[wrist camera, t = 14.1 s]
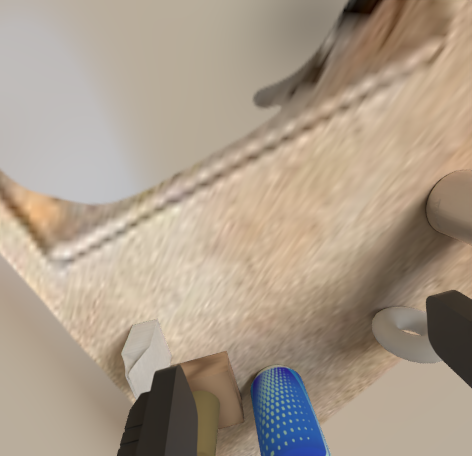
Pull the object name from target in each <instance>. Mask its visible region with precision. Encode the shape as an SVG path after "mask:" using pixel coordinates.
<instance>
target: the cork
mask: <svg viewBox="0 0 472 456" xmlns="http://www.w3.org/2000/svg"><path fill="white" fill-rule="evenodd" d="M192 394H193V397H194V399H195V403H196V407H197V413H198V440H197V456H215V453H216V443H217V433H218V423H219V413H220V402H219V399H218V398H217V397H216V396H215V395H214V394H212V393H211V392H207V391H194V392H192Z"/></svg>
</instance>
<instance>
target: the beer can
mask: <svg viewBox="0 0 472 456" xmlns="http://www.w3.org/2000/svg"><path fill="white" fill-rule="evenodd" d="M250 392H251V399H252V405H253V411H254V417H255V423H256V429H257V435H258V440H259V446H260V452H261V456H331V453H330V451H329V448H328V445H327V443H326V441H325V438H324V435H323V433H322V430H321V427H320V425H319V422H318V420H317V417H316V415H315V412H314V409H313V407H312V404H311V402H310V399H309V397H308V394H307V391H306V389H305V386H304V384H303V381H302V379H301V377H300V375H299V374H298V373H297V372H296V371H294V370H293V369H290V368H289V367H287V366H284V365H271V366H268V367H266V368H264V369H262V370H261V371H260V372H259V373H258V374H257V376H256V378H255V379H254V381H253V382H252V385H251V390H250Z"/></svg>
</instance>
